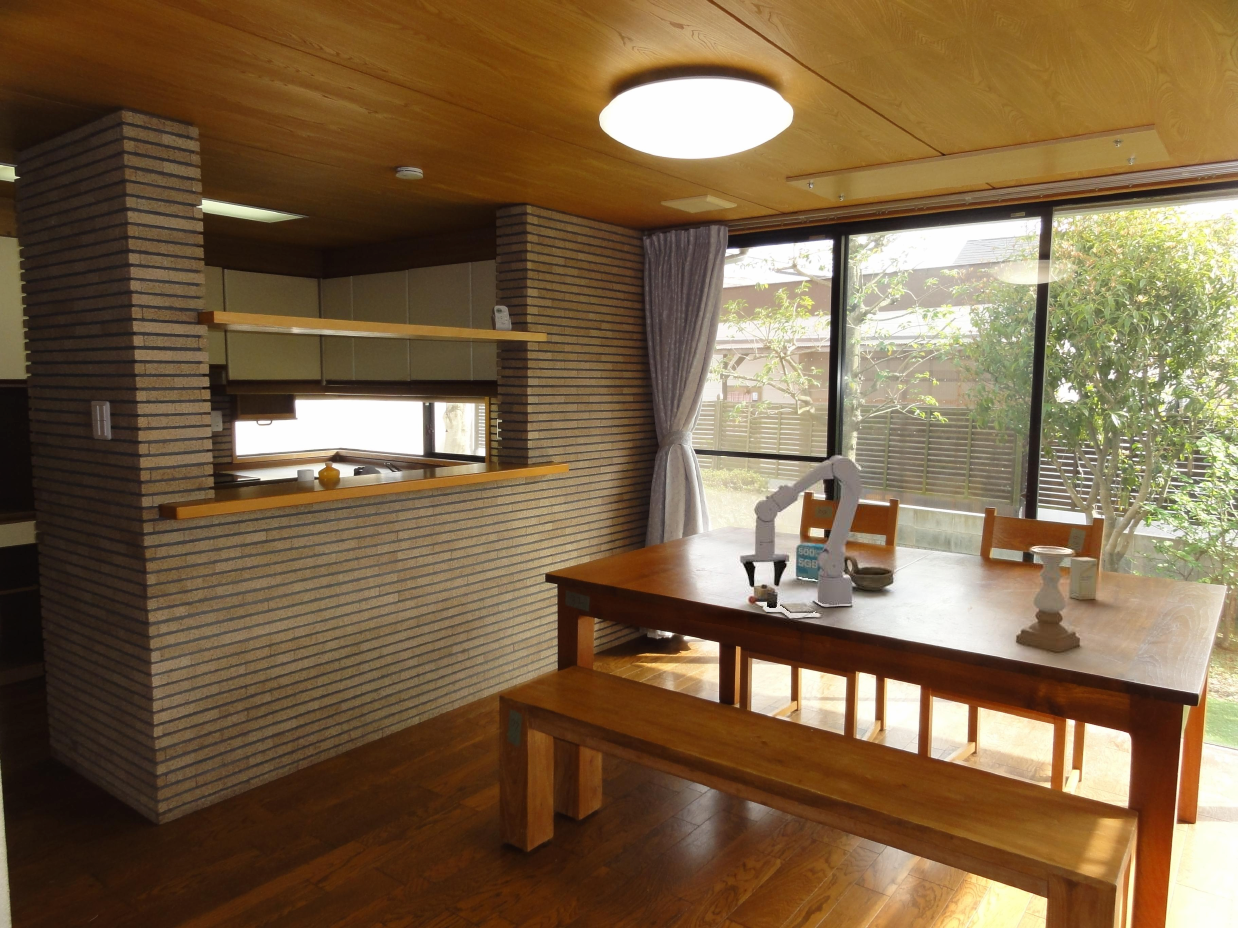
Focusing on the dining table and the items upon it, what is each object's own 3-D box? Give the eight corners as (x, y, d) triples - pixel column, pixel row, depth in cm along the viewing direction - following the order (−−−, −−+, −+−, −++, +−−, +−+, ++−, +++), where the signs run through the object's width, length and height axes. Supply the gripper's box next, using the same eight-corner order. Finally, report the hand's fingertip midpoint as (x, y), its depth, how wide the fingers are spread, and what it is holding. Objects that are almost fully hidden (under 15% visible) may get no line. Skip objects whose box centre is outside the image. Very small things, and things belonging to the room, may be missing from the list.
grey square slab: (804, 606, 243) (804, 601, 243) (820, 617, 231) (820, 611, 231) (761, 608, 241) (761, 603, 240) (775, 619, 229) (775, 614, 229)
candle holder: (1058, 653, 200) (1063, 555, 198) (1014, 642, 209) (1018, 548, 206) (1080, 644, 206) (1085, 550, 204) (1037, 634, 215) (1041, 543, 213)
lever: (775, 604, 240) (775, 591, 239) (778, 607, 237) (779, 593, 236) (746, 606, 238) (746, 592, 238) (750, 608, 235) (750, 595, 235)
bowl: (882, 596, 254) (883, 564, 253) (831, 587, 266) (831, 556, 266) (902, 588, 264) (903, 558, 263) (852, 580, 276) (853, 550, 275)
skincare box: (1079, 600, 249) (1081, 560, 248) (1067, 596, 254) (1069, 557, 253) (1096, 598, 251) (1098, 559, 250) (1084, 595, 255) (1086, 556, 254)
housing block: (768, 601, 249) (768, 582, 249) (774, 606, 244) (775, 586, 243) (753, 602, 248) (753, 583, 248) (759, 606, 243) (760, 587, 242)
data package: (795, 579, 278) (796, 544, 277) (800, 576, 281) (801, 541, 280) (829, 584, 271) (830, 547, 270) (834, 581, 274) (835, 545, 273)
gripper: (783, 537, 249) (782, 581, 251) (737, 539, 247) (736, 583, 248) (792, 542, 242) (791, 587, 244) (744, 543, 240) (744, 589, 241)
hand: (764, 585), depth 246 cm, fingers open, 7 cm apart
